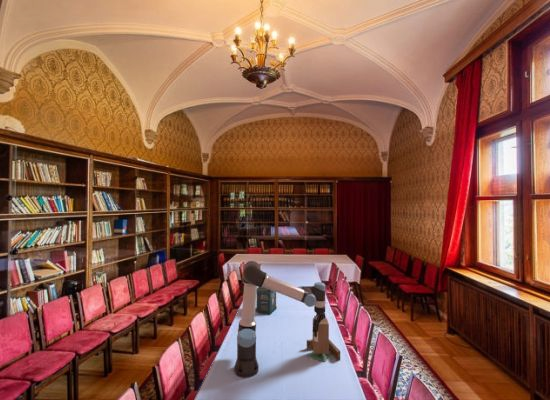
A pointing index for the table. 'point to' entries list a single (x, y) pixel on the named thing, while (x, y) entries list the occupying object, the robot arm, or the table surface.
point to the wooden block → (322, 338)
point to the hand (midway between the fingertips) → (319, 337)
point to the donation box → (265, 301)
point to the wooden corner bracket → (332, 348)
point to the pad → (319, 356)
